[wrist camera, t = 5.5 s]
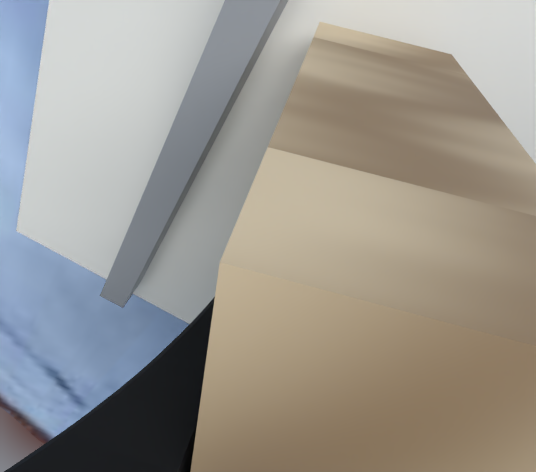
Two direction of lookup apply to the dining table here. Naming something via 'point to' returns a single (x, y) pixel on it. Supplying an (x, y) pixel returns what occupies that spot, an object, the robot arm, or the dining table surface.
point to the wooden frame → (377, 278)
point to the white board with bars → (209, 120)
